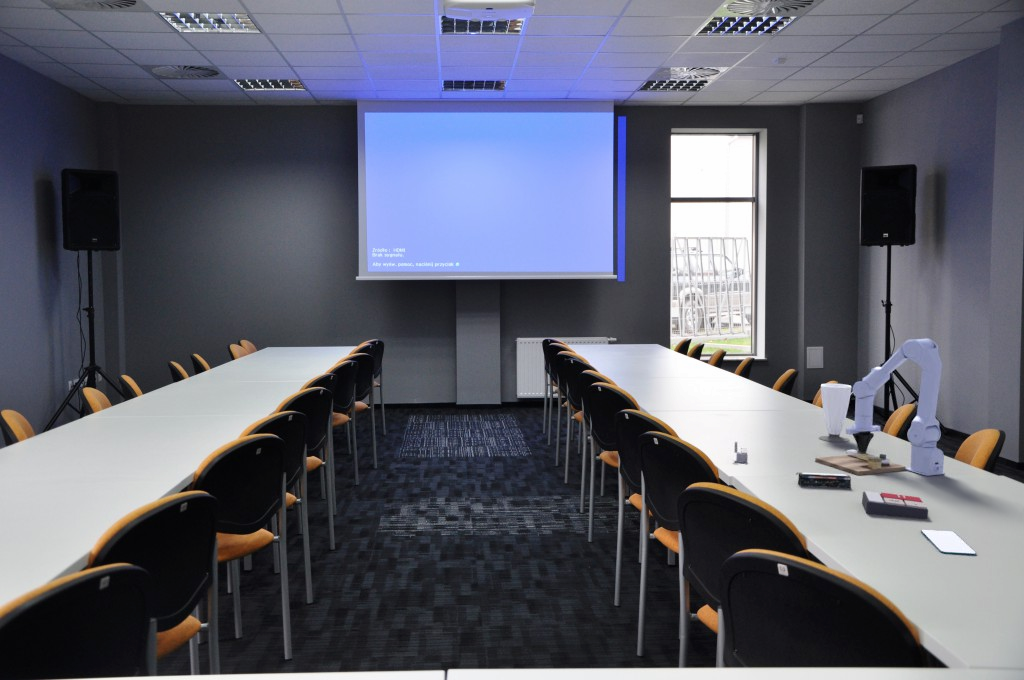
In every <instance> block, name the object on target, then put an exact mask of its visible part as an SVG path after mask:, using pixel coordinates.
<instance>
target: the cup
mask: <svg viewBox="0 0 1024 680" xmlns="http://www.w3.org/2000/svg"><path fill="white" fill-rule="evenodd" d="M851 392H852V385H849V384H845V383H844V384H843V383H821V385H820V394H821V395H820V396H821V403H822V404H821V406H822V412H823V417H824V423H825V428H826V431H827V434H828V435H822V436H819V437H818V440H821V441H823V442H831V443H847V442H850V439H849V438H847V437H844V436H841V433H842V431H843V427H844V425H845V421H846V417H847V414H848V409H849V404H850V398H851V394H852V393H851Z"/></svg>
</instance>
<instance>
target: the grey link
mask: <svg viewBox="0 0 1024 680" xmlns="http://www.w3.org/2000/svg"><path fill="white" fill-rule="evenodd" d="M860 454H867V455H871V456H874V457H878V458H879V457H880V456H877V455H875V454H870V453H867V452H866V453H864V452H860V451H858V449H857V450H856V449H846V453H845V455H850V456H854V457H857V455H860ZM890 462H891V460H890V458H888V457H886V459H881V465H890Z"/></svg>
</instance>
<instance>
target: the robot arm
mask: <svg viewBox="0 0 1024 680" xmlns="http://www.w3.org/2000/svg"><path fill="white" fill-rule="evenodd" d="M907 360H911V361H912V362H915V363H916V364H917V366H919V367H920V368H921V369H922V371H921V378H920V379H921V380H920V386H919V387H920V388H919V394H918V402H917V411H916V415H915V417H914V418H913V420H912V421H911V425H910V428H909V429H908V431H907V437H906V438H907V439H908V441H909V442H910V465H909V467H906V470H905V471H909V472H913V473H917V474H919V475H924V476H926V477H928V476H936V475H938V476H939V475H944V474H946V473H945V472H944V458H945V456H944V451H942V449H940V448H938V447H937V442H938V441H939V440H940V438H941V435H942V434H941V433H942V432H941V428H940V421H939V420H938V419H937V417H936V414H937V409H938V408H937V407H938V401H939V399H938V398H939V393H940V384H941V378H942V377H941V375H942V369H943V363H942V359H941V357H940V354H939V346H938V344H937V343H935V341H934V340H932V339H931V338H927V337H925V338H920V339H919V338H918V339H916V338H915V339H914V338H913V339H912V338H911V339H907V340H906V341H904V343H903V344H901V345H900V346H899V347H898V349H897V350H896V351H895V352H894V354H892V356H890V357H889V359H888V360H887V361H886V362H885V363H884V364H883V365H882V366H876V367H873V368H871V370H870V373H868V374H867V375H866V376H864V377H862V380H861V381H856V382H854V384H853V386H852V393H853V395H854V397H855V403H854V404H855V408H854V409H855V410H854V424H853V425H852V426H851V427H847V428H845V434H847V435H852V436H853V439H854V440H855V443H856V447H857V451H860V452H864V453H867V450H868V448H869V445H870V443H871V441H872V439H873V438H874V437H875V436H874V435H875V434H874V433H872V432H878V433H879V432H881V425H877V424H876V425H873V418H874V417H873V415H874V414H873V413H874V402H875V397H876V396H877V394H878V391H879V389H880V388H881V387H882V386H883V385H884V384H886V383H887V382H888V381H889V380H890V378H891V373H893V371H895V370H896V369H897V368H899V367H900V366H901V365H902V364H904V363H905V362H906V361H907Z"/></svg>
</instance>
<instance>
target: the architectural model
mask: <svg viewBox="0 0 1024 680" xmlns="http://www.w3.org/2000/svg"><path fill="white" fill-rule="evenodd" d="M743 451H745V452H743ZM734 453H735V454H736V456H735V457H736V462H737V463H746V464H748V451H746V448H745V447H744V448H742V447H741V448H740V452H738V441H734Z"/></svg>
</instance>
